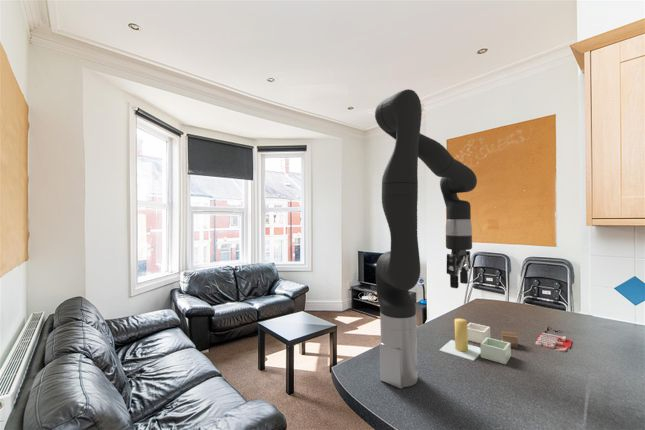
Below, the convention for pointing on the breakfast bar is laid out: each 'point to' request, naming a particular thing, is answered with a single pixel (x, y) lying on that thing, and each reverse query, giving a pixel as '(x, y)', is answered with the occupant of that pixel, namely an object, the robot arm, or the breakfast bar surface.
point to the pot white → (477, 332)
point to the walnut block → (510, 338)
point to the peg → (461, 335)
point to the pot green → (495, 350)
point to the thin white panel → (470, 354)
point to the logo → (553, 341)
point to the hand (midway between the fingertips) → (459, 285)
